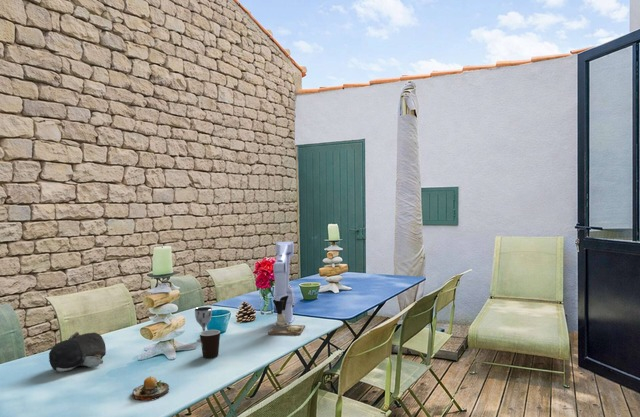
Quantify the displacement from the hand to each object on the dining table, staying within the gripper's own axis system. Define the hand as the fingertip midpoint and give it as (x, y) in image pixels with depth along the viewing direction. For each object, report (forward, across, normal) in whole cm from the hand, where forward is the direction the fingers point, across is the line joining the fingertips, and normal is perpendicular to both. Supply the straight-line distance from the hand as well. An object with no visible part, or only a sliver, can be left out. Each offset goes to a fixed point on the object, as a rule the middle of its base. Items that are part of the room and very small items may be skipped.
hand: (281, 311), depth 223 cm
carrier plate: (+9, +1, +3) cm, 10 cm away
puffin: (+10, +55, -72) cm, 91 cm away
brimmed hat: (+10, +77, -28) cm, 83 cm away
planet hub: (+8, 0, 0) cm, 8 cm away
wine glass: (+10, +18, -34) cm, 40 cm away
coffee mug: (+10, +38, -22) cm, 45 cm away
